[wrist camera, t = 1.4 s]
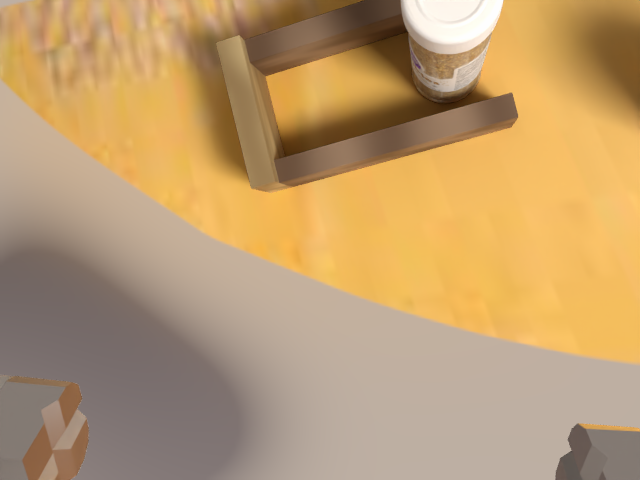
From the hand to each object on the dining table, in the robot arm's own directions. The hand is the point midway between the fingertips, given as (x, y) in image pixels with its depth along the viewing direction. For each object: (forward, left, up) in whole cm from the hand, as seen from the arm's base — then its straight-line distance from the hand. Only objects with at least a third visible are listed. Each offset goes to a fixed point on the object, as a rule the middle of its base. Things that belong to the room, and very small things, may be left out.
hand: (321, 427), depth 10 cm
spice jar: (-11, -9, -31) cm, 34 cm away
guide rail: (-6, -11, -31) cm, 33 cm away
